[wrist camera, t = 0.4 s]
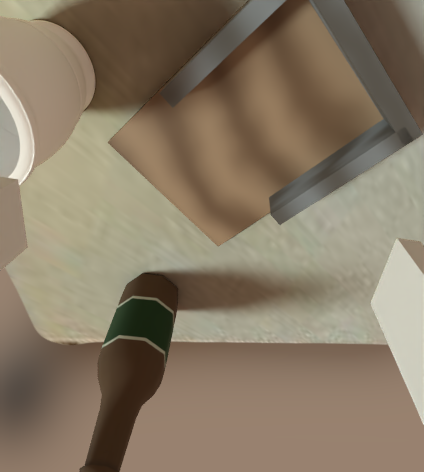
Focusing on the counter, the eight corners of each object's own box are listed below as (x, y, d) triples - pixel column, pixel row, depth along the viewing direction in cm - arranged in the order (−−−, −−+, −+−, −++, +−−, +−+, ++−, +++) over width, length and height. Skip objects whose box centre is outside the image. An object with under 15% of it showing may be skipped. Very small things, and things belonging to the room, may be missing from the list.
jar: (-28, 39, 34) (-182, 77, 21) (59, -19, 30) (-64, -13, 18) (47, 141, 39) (-42, 217, 27) (128, 100, 36) (68, 166, 24)
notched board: (306, -58, 28) (315, -63, 24) (408, 114, 35) (427, 131, 31) (110, 138, 38) (96, 156, 35) (218, 241, 45) (216, 265, 41)
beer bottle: (140, 315, 54) (81, 506, 35) (116, 277, 50) (33, 470, 31) (188, 305, 52) (155, 503, 33) (167, 266, 48) (115, 464, 29)
